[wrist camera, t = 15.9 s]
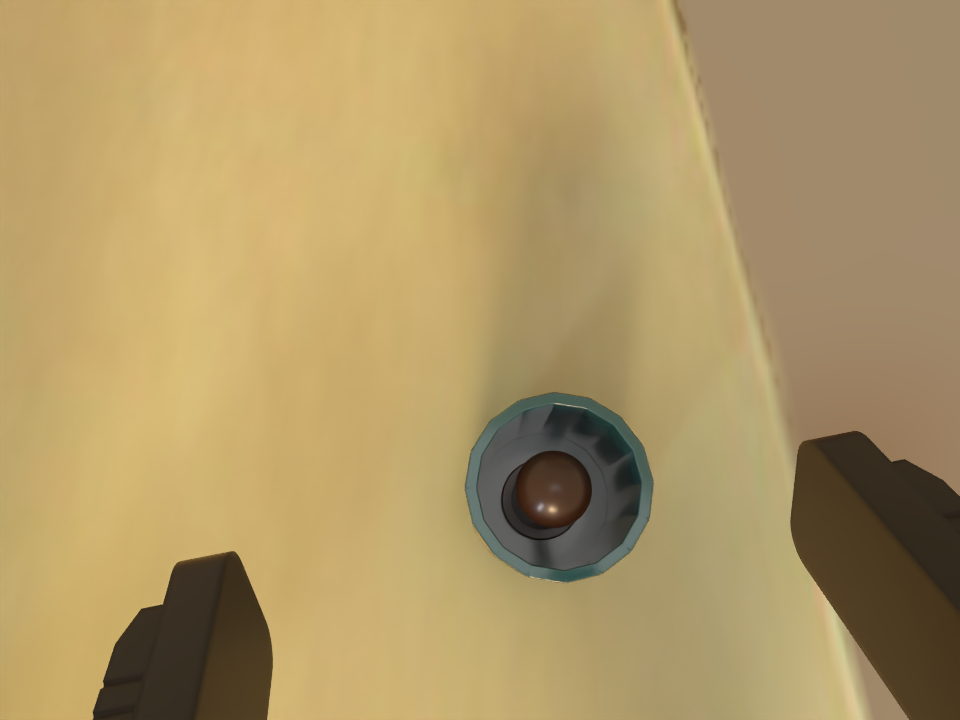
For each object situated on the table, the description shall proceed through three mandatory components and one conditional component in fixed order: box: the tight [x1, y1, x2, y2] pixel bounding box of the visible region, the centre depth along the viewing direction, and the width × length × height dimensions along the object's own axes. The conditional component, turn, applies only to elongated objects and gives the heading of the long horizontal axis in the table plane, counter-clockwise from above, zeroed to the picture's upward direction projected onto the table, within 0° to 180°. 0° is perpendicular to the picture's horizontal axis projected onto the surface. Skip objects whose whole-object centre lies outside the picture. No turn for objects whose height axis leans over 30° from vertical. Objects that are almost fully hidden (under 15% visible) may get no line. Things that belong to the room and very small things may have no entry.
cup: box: [465, 392, 654, 583], centre depth 36 cm, size 8×8×9 cm
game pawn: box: [501, 450, 592, 540], centre depth 35 cm, size 4×4×9 cm
